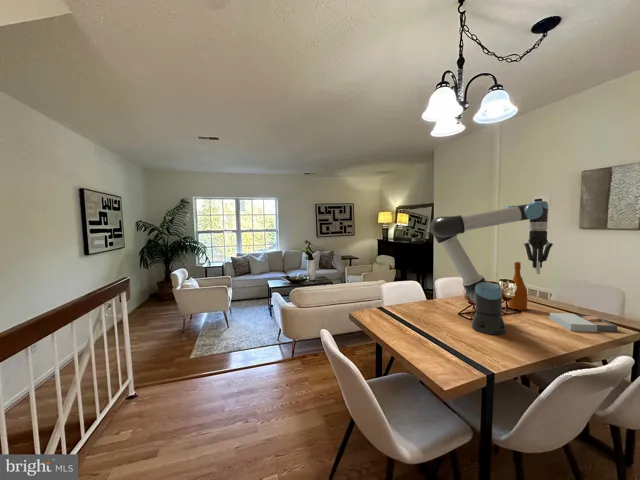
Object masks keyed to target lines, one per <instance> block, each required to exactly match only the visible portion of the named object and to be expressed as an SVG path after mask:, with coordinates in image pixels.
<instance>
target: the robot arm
mask: <svg viewBox="0 0 640 480" xmlns="http://www.w3.org/2000/svg"><path fill="white" fill-rule="evenodd" d="M548 215H549V203H548V202H547V201H545V200H544V201H543V200H539V201H531V202H530V203H527V204H521V205H520V204H519V205H507V206H505V208H501V209H497V210H496V209H495V210H490V211H486V212H480V213H475V214H470V215H465V216H464V215H461V214H459V215H454V216H452V215H451V216H445V215H444V216H437V217H435V218H434V219H432V220H431V222H430V224H429V231H430V233H431V235H432V236H434V238H435V240H436V242H437V243H438V244H440V245H442V246H443V249H444V250H445V252H446V253H447V255H448V256H449V258H450V261H452V264H453V266H454V268H456V271H457V272H458V274H459V276H460V278H461V279H462V283H461V284H462V287H463V288H464V289H465V293H466V295H467V297H468V298H469V299H470V300H472V301H473V302H474V303H475V314H474V317H473V318H472V321H471V328H472V329H473V330H474V331H476V332H479V333H482V334H488V335H498V336H499V335H504V334H506V333H507V326H506V324H505V321H504V319H503V314H502V312H503V311H502V309H503V307H502V306H503V303H502V302H503V299H502V298H503V296H502V295H503V292H502V288H501V286H500V285H498V284H496V283H493V282H492V283H491V282H487V280H486V279H485V277H484V275H483V274H482V275H481V274H480V273H478V271H477V269H476V268H475V266H474V264H473V262H472V261H471V259H470V258H469V256H468V254H467V252H466V251H465V249H464V247H463V246H462V244H461V242H460V241H459V239H458V235H460V234H464V233H466V232H467V231H471V230H477V229H481V228H483V229H484V228H487V227H492V226H499V225H504V224H509V223H510V224H511V223H514V222H520V221H527V220H529V234H528V236H529V238H528V241H527V242H523V246H524V247H525V251H526V255H527V259H528V261H530V262H532V265H531V266H532V268H533V270H534V271H533V273H534V274H535V275H540V274H541V269H542V268H543V262H547V259H548V257H549V253H550V252H551V251H550V250H551V248H552V247H553V245H554V243H552V242H549V241H548V231H547V230H548V225H549V224H548V222H549V221H548V218H549V216H548ZM544 246H545V247H544Z"/></svg>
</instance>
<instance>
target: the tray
mask: <svg viewBox="0 0 640 480" xmlns="http://www.w3.org/2000/svg"><path fill="white" fill-rule="evenodd" d="M576 315H577V316H579V317H584V316H594V317H597V318H599V320H600V322H605V323H607V324H610V325H597V332H606V333H607V332H609V333H617V332H618V325H616V324H614V323H611V322H609V321H607V320H604V319H602V318H600V317H598V316H595V315H593V314H576Z"/></svg>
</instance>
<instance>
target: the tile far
mask: <svg viewBox="0 0 640 480" xmlns="http://www.w3.org/2000/svg"><path fill="white" fill-rule="evenodd" d="M594 316H595V315H593V316H584V317H581V318H583V319H585V320H587V321H590V322H592V323H593V322H600V320H599V318H600V317H598V316H595V317H594ZM597 317H598V318H597Z"/></svg>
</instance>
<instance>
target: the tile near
mask: <svg viewBox="0 0 640 480" xmlns="http://www.w3.org/2000/svg"><path fill="white" fill-rule="evenodd" d="M593 323H594V324H596V325H610V324H607V323H605V322H593Z"/></svg>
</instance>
